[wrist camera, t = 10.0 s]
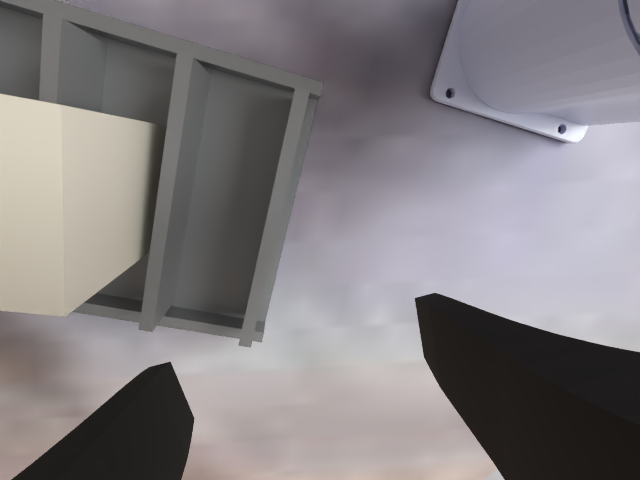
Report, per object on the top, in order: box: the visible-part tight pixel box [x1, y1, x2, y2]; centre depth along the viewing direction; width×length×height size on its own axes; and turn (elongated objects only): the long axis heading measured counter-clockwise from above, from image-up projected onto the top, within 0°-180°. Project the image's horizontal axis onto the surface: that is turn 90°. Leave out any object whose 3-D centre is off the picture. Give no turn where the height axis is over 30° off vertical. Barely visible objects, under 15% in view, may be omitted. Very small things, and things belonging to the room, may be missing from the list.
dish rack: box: [0, 0, 323, 347], centre depth 15 cm, size 16×14×4 cm
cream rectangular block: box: [0, 94, 167, 317], centre depth 13 cm, size 2×6×8 cm, turn 170°
